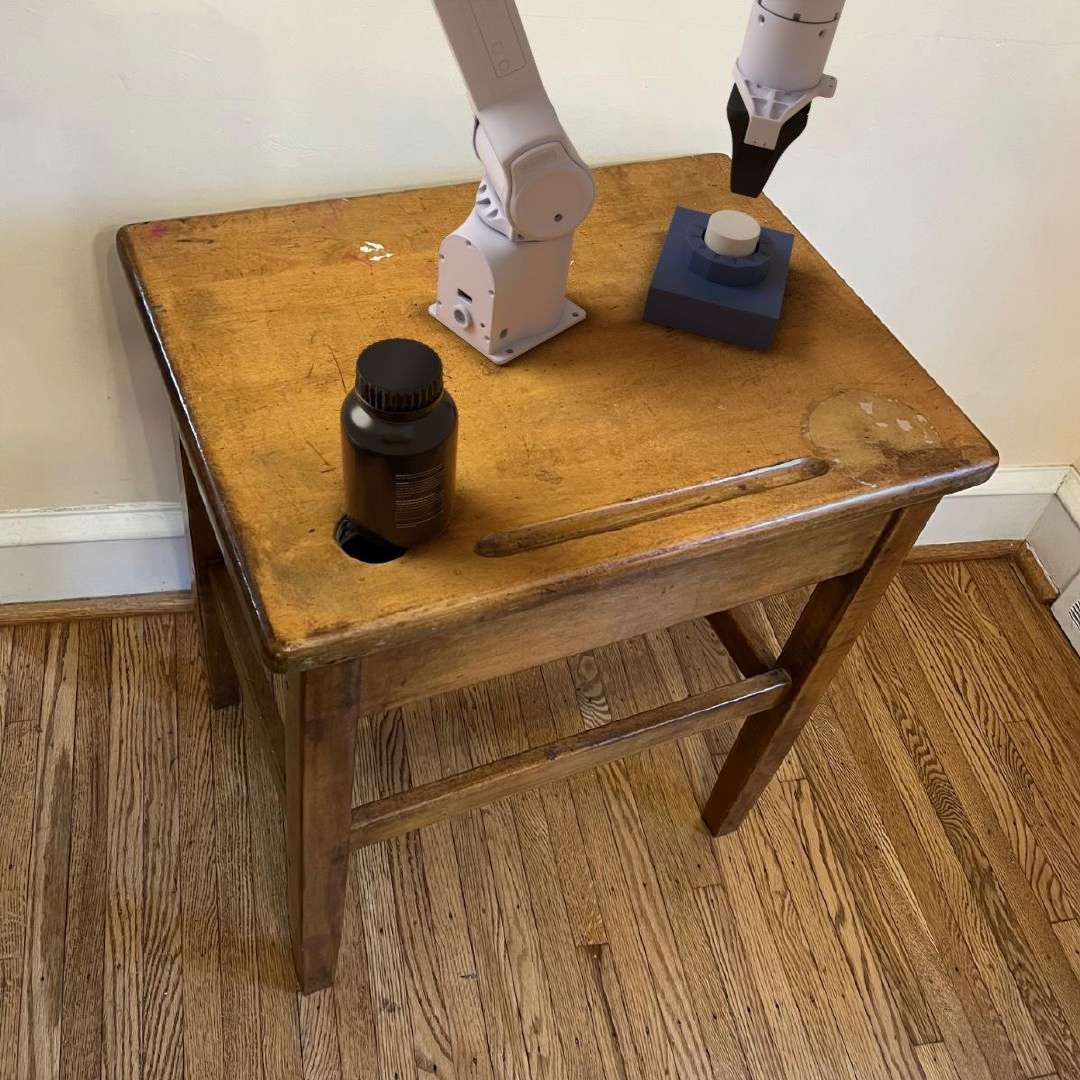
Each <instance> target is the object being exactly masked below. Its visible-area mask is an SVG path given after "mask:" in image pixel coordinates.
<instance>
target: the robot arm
mask: <svg viewBox="0 0 1080 1080" xmlns="http://www.w3.org/2000/svg"><path fill="white" fill-rule="evenodd" d="M429 1H430V3H431V6H432V9H433V11H434V13H435V16H436V18H437V20H438V23H439V25H440V29H441V30H442V33H443V36H444V38H445V41H446V42H447V46H448V47H449V50H450V53H451V56H452V58H453V61H454V63H455V65H456V68H457V70H458V73H459V75H460V77H461V81H462V83H463V85H464V87H465V90H466V91H465V94H466V98H467V100H468V103H469V105H470V109H471V114H472V125H471V132H470V135H471V136H470V137H471V138H470V139H471V140H470V141H471V146H472V149H473V152H474V154H475V156H476V158H477V159H478V160H479V162H480V163H481V164H482V167H483V177H482V179H481V181H480V184H479V186H478V188H477V189H478V190H477V193H476V195H475V205H474V207H473V208H472V210H471V213H470V214H469V216H468V217H467V218H466V220H465V221H464V222H463V223H462V224H461V225H460V226H459V227H458V228H457V229H455V230H454V231H452V232H451V233H450V234H448V235H447V236H446V237H445V238H444V239H443V240H442V242H441V244H440V246H439V249H438V263H437V264H438V265H437V285H436V286H437V287H436V302H435V303H433V304H431V305H429V307H428V314H429V315H430V316H432V318H434V319H436V320H437V321H439V322H440V323H441V324H442V325H444V326H445V327H446V328H448V329H449V330H450V331H452V332H453V333H454V334H455V335H456V336H458V337H459V338H461V339H462V340H463V341H465V342H466V343H467V344H469V345H470V346H472V347H473V348H474V349H475V350H476V351H478V352H479V353H480V354H482V355H483V356H484V357H486V358H487V359H489V360H490V361H491V362H493V363H494V364H495V365H500V366H501V365H504V364H506V363H509V362H510V361H511V360H514V359H515V358H518V357H519V356H521V355H522V354H524V353H526V352H528V351H531V349H533V348H535V347H537V346H538V345H540V344H542V343H544V342H546V341H547V340H550V339H551V338H553V337H555V336H556V335H558V334H560V333H562V332H564V331H565V330H567V329H570V328H571V327H572V326H575V325H576V324H578V323H580V322H582V321H583V320H585V319H586V316H587V311H585V309H583V308H581V307H580V306H579V305H578V304H576V303H574V302H573V301H571V300H570V299H568V298H567V297H566V293H567V292H566V291H567V284H568V277H569V273H570V265H571V259H572V252H573V246H574V242H575V241H574V240H575V233H576V229H577V228H579V226H581V225H582V224H583V223H584V222H585V220H586V219H587V217H588V216H589V215H590V213H591V212H592V209H593V207H594V205H595V201H596V198H597V182H596V178H595V175H594V172H593V171H592V170H591V167H590V166H589V165H588V164H587V163H586V162H585V161H584V160H583V159H582V157H581V155H580V154H579V152H578V150H577V149H576V147H575V146H574V144H573V143H572V141H571V139H570V137H569V136H568V134H567V132H566V130H565V128H564V127H563V125H562V124H561V122H560V120H559V116H558V114H557V112H556V110H555V107H554V105H553V104H552V102H551V100H550V98H549V96H548V93H547V91H546V89H545V85H544V83H543V81H542V78H541V75H540V71H539V68H538V66H537V63H536V60H535V57H534V54H533V50H532V48H531V45H530V42H529V38H528V35H527V33H526V30H525V27H524V25H523V21H522V18H521V16H520V12H519V10H518V6H517V4H516V0H429ZM846 1H847V0H753V2H752V6H751V8H750V13H749V17H748V19H747V20H748V21H747V24H746V28H745V33H744V36H743V40H742V44H741V49H740V52H739V55H738V56H737V57H736V58H735V60H734V64H733V67H732V78H733V80H734V83H733V86H732V88H731V92H730V95H729V97H728V101H727V103H726V104H727V105H726V117H727V122H728V125H729V130H730V134H731V162H730V163H731V164H730V165H731V166H730V173H729V174H730V175H729V189H730V193H731V194H736V195H739V196H743V197H748V198H751V199H757V198H759V196H760V195H761V193H762V192H763V190H764V189H765V186H766V185H767V183H768V181H769V180H770V177H771V175H772V173H773V172H774V169H775V168H776V166H777V164H778V162H779V160H780V159H781V157H782V156H783V154H784V153H785V152H786V151H787V149H788V148H789V147H790V146H791V145H792V144H793V142H795V140H797V139H798V138H799V137H800V136H801V135H802V134H803V132H804V131H805V129H806V127H807V125H808V120H809V117H810V116H809V114H810V111H811V107H812V102H813V100H814V99H815V98H818V97H821V98H825V99H831V98H833V97H834V96H835V93H836V90H837V87H838V79H837V78H836V77H835V76H833V75H830V74H826V73H824V70H825V68H826V64H827V61H828V57H829V55H830V52H831V48H832V44H833V42H834V39H835V35H836V32H837V29H838V26H839V24H840V23H839V22H840V20H841V17H842V14H843V11H844V8H845V3H846Z"/></svg>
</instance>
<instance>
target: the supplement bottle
mask: <svg viewBox="0 0 1080 1080" xmlns="http://www.w3.org/2000/svg"><path fill="white" fill-rule="evenodd" d="M357 357H358V358H357V359H356V361H355V378H354V379H355V380H354V386H353V387H352V388H351V389H350V390H349V391H348V393H347V394H346V396H345V397H344V399H343V401H342V404H341V405H340V406H341V407H340V411H339V432H340V446H341V449H340V450H341V464H342V466H341V467H342V479H343V480H342V481H343V496H344V497H343V498H344V509H345V514H346V518H347V520H348V522H349V524H350V525H351V527H352V528H353V530H354V531H355V532H356V533H357V534H359V536H361V537H362V538H364V539H365V540H366V541H369V542H371V543H373V544H375V545H378V546H381V547H383V548H390V549H409V548H415V547H419V546H422V545H425V544H427V543H429V542H431V541H433V540H435V539H436V538H438V537H439V536H440V535H441V534H442V533H443V532H444V531H445V530H446V529H447V527H448V525H449V524H450V522H451V520H452V518H453V514H454V509H455V498H456V497H455V496H456V481H457V479H456V478H457V463H458V462H457V459H458V442H459V440H458V439H459V424H460V423H459V409H458V405H457V404H456V402H455V400H454V399H455V398H454V397H453V396H452V394H451V393H450V391H448V390H447V388H446V387H445V386H444V385H445V384H444V365H443V362H442V358H441V357H440V355H439V353H438V352H437V351H435V350H434V348H432V347H430V345H428V344H426V343H423V342H422V341H419V340H415V339H412V338H406V337H403V338H401V337H394V338H392V337H391V338H390V337H389V338H386V339H380V340H378V341H374V342H372V344H369V345H367V346H366V347H365V348H364V349H362V350H361V353H359V354H358V355H357Z"/></svg>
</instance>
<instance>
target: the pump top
mask: <svg viewBox="0 0 1080 1080" xmlns="http://www.w3.org/2000/svg"><path fill="white" fill-rule="evenodd" d="M760 226H761V225H760V223H759V221H757V220H756V219H755V218H754V217H753V216H751V215H749V214H747V213H745V212H742V211H737V210H733V209H732V210H731V209H730V210H729V209H724V210H719V211H716V212H714V213H713V214H712V216H711V217H710V219H709V223H708V226H707V230H706V234H705V238H704V242H705V245H706V246H707V247H708V248H710V249H711V250H713V251H715V252H716V253H718V254H721V255H725V256H729V257H733V258H739V257H749V256H751V255H752V254H753V253H754V251H755V248H756V244H757V241H758V238H759V235H760V231H761V229H760Z"/></svg>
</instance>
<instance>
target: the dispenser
mask: <svg viewBox="0 0 1080 1080" xmlns="http://www.w3.org/2000/svg"><path fill="white" fill-rule="evenodd" d="M712 215H713V214H711V213H708V212H703V211H700V210H696V209H692V208H688V207H683V206H679V205H676V207H675V208H674V212H673V214H672V218H671V219H670V224H669V227H668V230H667V232H666V236H665V238H664V242H663V244H662V248H661V250H660V253H659V256H658V259H657V262H656V266H655V269H654V270H653V274H652V278H651V280H650V283H649V286H648V290H647V295H646V299H645V304H644V307H643V312H642V317H641V320H642V321H643V322H647V323H651V324H655V325H660V326H663V327H667V328H671V329H675V330H679V331H683V332H687V333H691V334H695V335H699V336H702V337H706V338H711V339H714V340H719V341H722V342H726V343H730V344H734V345H739V346H741V347H746V348H750V349H754V350H757V351H762V352H766V353H768V352H769V349H770V346H771V344H772V341H773V338H774V334H775V332H776V329H777V326H778V324H779V320H780V316H781V310H782V304H783V300H784V294H785V289H786V284H787V278H788V273H789V268H790V262H791V258H792V252H793V247H794V242H795V236H796V235H795V234H794V233H789V232H786V231H781V230H778V229H773V228H769V227H765V226H761V225H760V229H761V231H760V235H759V238H758V241H757V244H756V248H755V251H754V253H753V254H752V255H751V256H749V257H739V258H733V257H729V256H725V255H721V254H718V253H716V252H715V251H713V250H711V249H710V248H708V247H707V246H706V245H705V242H704V238H705V234H706V230H707V226H708V223H709V219H710V217H711V216H712Z"/></svg>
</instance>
